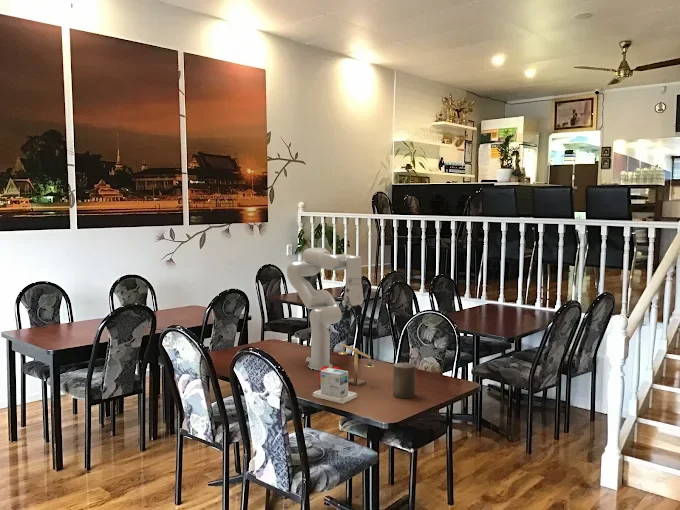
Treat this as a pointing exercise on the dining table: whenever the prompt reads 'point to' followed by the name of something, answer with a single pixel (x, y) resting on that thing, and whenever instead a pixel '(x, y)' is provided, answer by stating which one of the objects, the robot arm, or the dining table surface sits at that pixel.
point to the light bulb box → (334, 382)
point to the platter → (340, 400)
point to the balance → (356, 365)
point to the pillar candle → (404, 380)
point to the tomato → (326, 368)
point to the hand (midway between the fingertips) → (353, 316)
